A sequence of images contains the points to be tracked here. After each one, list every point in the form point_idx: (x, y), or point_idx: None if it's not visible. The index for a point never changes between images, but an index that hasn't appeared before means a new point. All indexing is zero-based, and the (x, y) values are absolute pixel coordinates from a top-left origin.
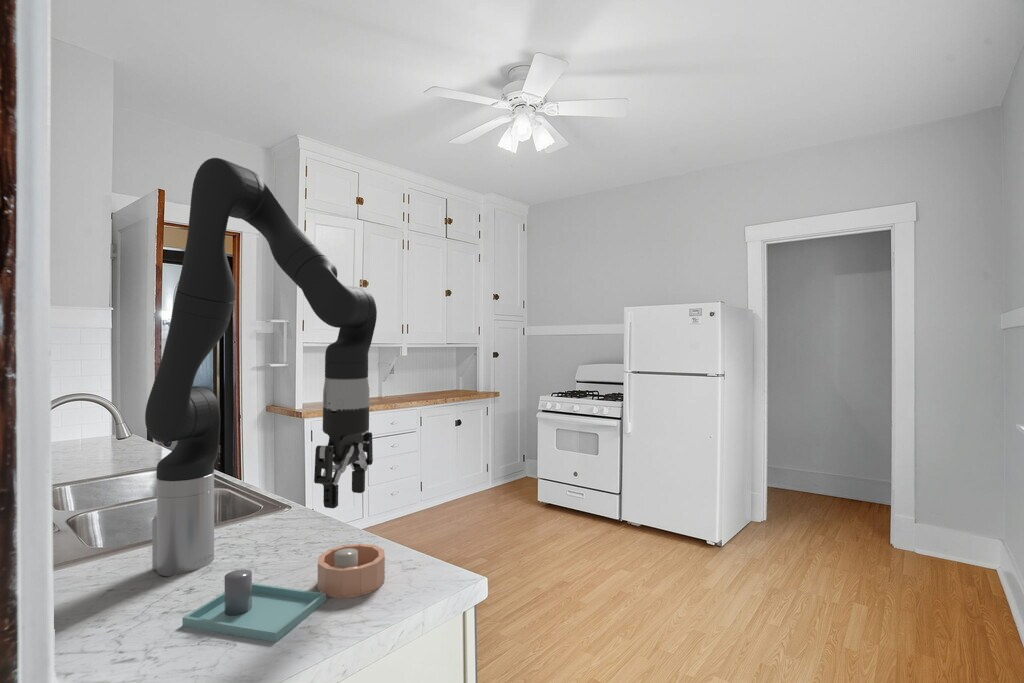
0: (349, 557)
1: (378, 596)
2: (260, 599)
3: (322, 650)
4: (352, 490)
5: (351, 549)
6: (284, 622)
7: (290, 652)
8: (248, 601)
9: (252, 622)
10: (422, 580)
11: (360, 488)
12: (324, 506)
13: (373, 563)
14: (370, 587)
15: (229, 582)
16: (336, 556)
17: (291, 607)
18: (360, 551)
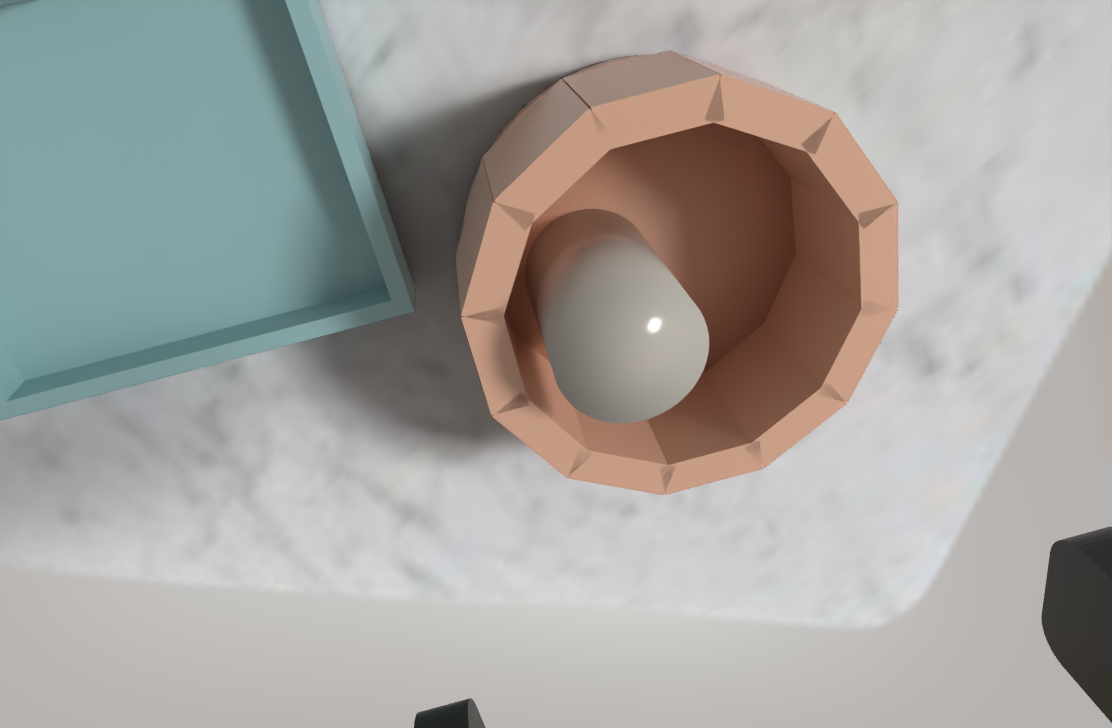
0: (590, 411)
1: None
2: None
3: (159, 543)
4: (1071, 550)
5: (693, 341)
6: (137, 293)
7: (55, 464)
8: (14, 2)
9: (3, 145)
10: (820, 474)
11: (1084, 663)
12: (416, 716)
13: (653, 485)
14: None
15: None
16: (554, 342)
17: (253, 195)
18: (840, 221)
